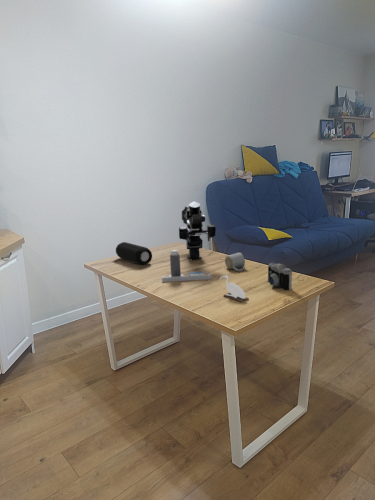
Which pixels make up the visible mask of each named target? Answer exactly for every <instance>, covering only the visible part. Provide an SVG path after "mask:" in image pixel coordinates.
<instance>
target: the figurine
mask: <svg viewBox="0 0 375 500" xmlns="http://www.w3.org/2000/svg"><path fill="white" fill-rule="evenodd" d="M222 278H225V279H226V281H225V284H226V285H225V286H226V290H227V292H228V293H225V294H223V297H224V298H226V299H229V300H232V301H235V302H238V303H244V302H247V301H249V297H247V296H246V292H245V291H244V290H243V288H242V287H240V285H238V284H236V283H235V282H228V281H229V275H227V274H226V275H221V276H220V278H219V280H221V279H222Z"/></svg>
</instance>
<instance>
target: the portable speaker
mask: <svg viewBox="0 0 375 500" xmlns="http://www.w3.org/2000/svg"><path fill="white" fill-rule="evenodd" d="M115 254H116V255H117V256H118V258H120V259H122V258H123V260H125V261H128V260H129V261H128V262H132V263H134V264H138V265H140V266H141V265H142V266H143V265H144V264H145V265H147V264H149V263H151V261H152V259H153V253H152V251H151V250H150V249H149V248H148V247H146V246H142V245H138V244H134V243H130V242H126V241H122V242H120V243H119V244H117V246H116V247H115Z"/></svg>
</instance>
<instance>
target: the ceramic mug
mask: <svg viewBox="0 0 375 500" xmlns="http://www.w3.org/2000/svg"><path fill="white" fill-rule="evenodd" d="M224 259H225V260H224V263H225V266H226V268H227V269H229V270H234V271H236V272H244V271H245V266H246V265H245V264H246V259H245V256H244V255H243V254H242V252H236V253H232V254H229V255H227V256H225V258H224Z"/></svg>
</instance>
